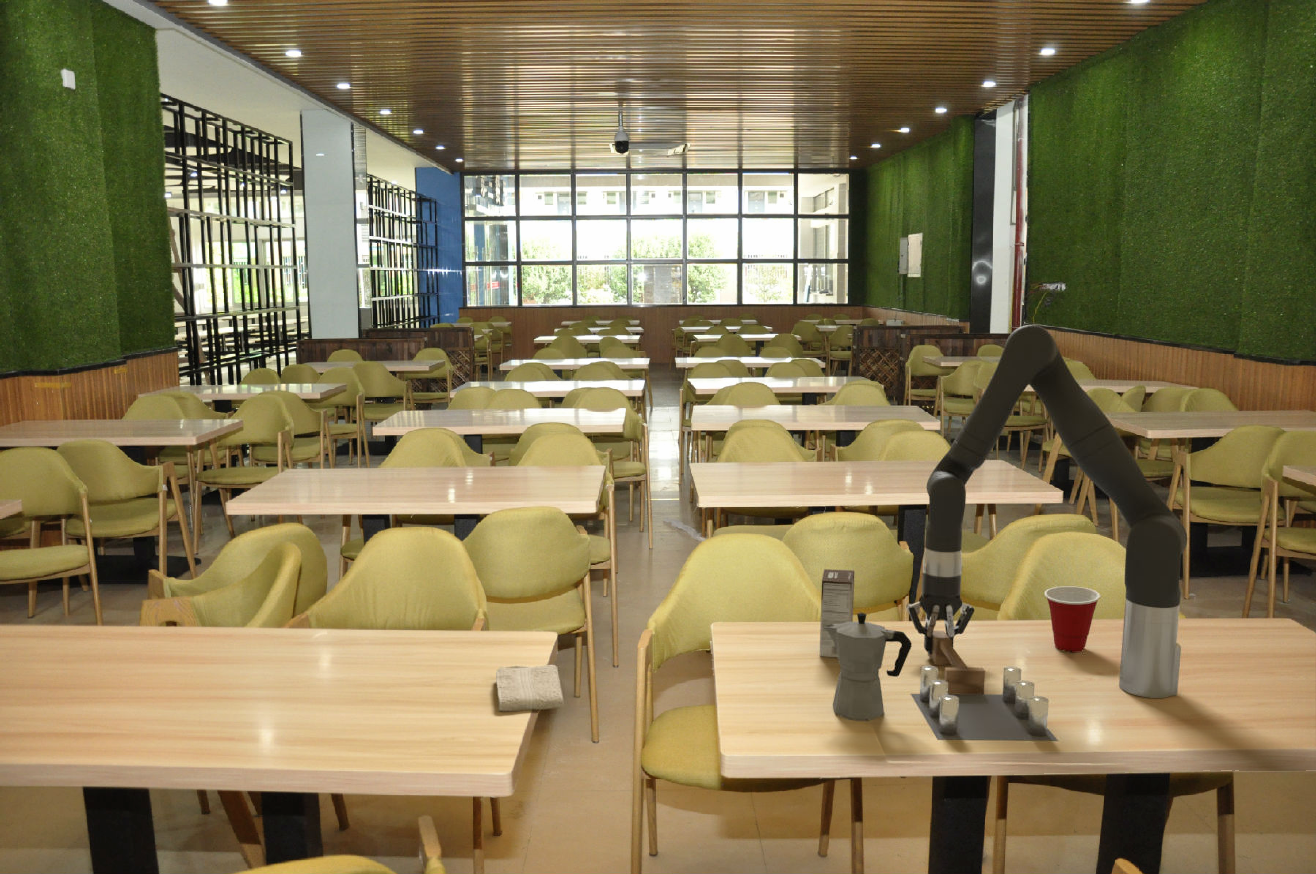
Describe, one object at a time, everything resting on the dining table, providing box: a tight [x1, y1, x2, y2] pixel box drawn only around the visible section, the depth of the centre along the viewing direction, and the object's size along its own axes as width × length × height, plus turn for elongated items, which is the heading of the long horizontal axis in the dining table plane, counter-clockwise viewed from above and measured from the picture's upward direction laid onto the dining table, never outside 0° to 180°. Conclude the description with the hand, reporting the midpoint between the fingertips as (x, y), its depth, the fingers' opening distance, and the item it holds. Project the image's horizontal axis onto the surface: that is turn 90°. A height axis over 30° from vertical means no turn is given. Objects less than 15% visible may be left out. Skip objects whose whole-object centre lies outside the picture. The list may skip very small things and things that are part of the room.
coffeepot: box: [824, 612, 912, 722], centre depth 191 cm, size 15×9×18 cm, turn 66°
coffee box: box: [819, 568, 855, 658], centre depth 223 cm, size 9×6×16 cm
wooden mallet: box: [927, 630, 986, 694], centre depth 211 cm, size 7×22×5 cm, turn 0°
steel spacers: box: [919, 664, 1049, 737], centre depth 190 cm, size 18×17×6 cm
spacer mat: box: [910, 693, 1059, 742], centre depth 190 cm, size 20×20×1 cm
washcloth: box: [495, 664, 565, 712], centre depth 200 cm, size 12×18×3 cm, turn 11°
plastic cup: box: [1044, 585, 1101, 653], centre depth 226 cm, size 11×11×12 cm
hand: (938, 652), depth 220 cm, fingers closed on wooden mallet, 3 cm apart
